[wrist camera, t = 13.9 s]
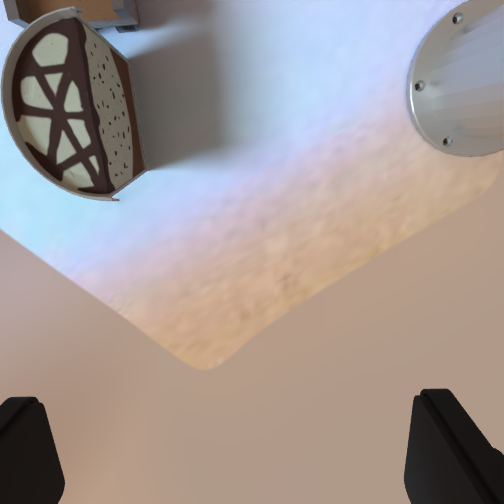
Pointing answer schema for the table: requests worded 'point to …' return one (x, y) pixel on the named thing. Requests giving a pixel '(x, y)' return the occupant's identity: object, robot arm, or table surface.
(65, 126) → the food container
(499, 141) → the robot arm
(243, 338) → the table surface
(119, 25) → the trolley
